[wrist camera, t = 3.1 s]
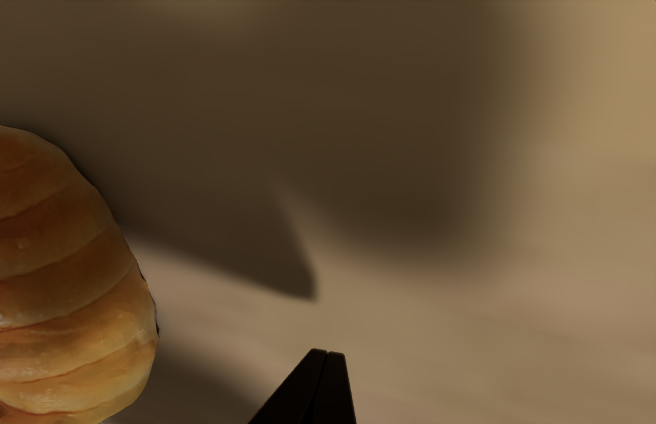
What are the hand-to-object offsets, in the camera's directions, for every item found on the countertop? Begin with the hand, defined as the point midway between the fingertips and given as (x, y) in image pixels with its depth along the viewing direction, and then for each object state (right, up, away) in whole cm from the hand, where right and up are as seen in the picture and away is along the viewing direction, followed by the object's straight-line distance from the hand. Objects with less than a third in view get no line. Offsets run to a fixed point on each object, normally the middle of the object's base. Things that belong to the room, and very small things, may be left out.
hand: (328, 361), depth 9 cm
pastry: (-9, +2, +3) cm, 10 cm away
